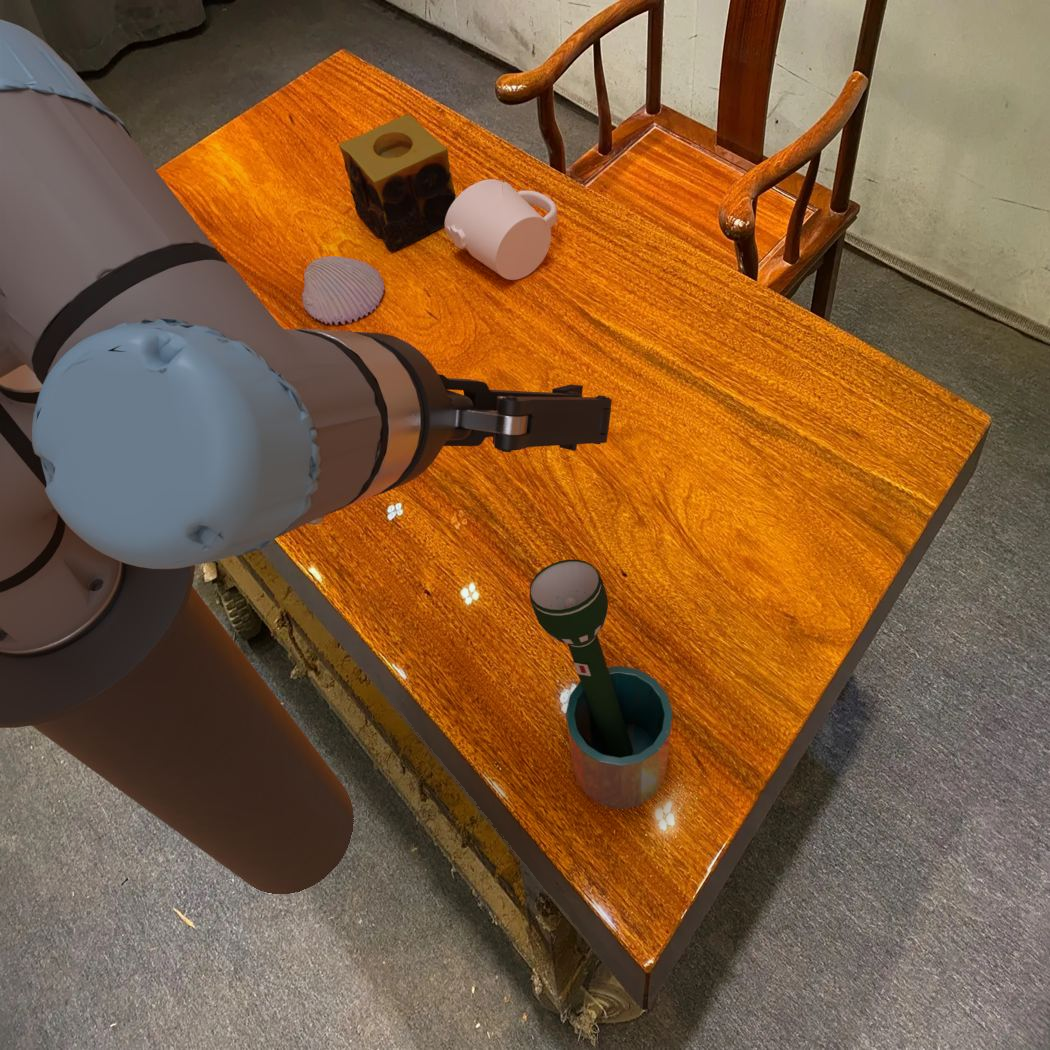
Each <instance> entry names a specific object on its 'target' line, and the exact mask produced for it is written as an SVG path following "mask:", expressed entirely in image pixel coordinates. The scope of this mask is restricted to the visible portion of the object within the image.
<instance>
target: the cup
mask: <svg viewBox="0 0 1050 1050" xmlns="http://www.w3.org/2000/svg"><path fill="white" fill-rule="evenodd" d="M607 668H608V671H609V674H610V677H611V680H612V684H613V687H614V690H615V693H616V696H617V700H618V703H619V706H620V709H621V712H622V716H623V719H624V722H625V725H626V728H627V732H628V735H629V738H630V741H631V744H632V748H633V751H634V755H631V756H626V757H621V758H619V757H614V756H608V755H606V754H605V751H604V748H603V745H602V742H601V740H600V737H599V734H598V731H597V728H596V725H595V722H594V719H593V716H592V713H591V710H590V708H589V705H588V702H587V699H586V696H585V693H584V690H583V687H582V684H581V681H580V680H579V682H578V683H577V685H576V687H575V688H574V689H573V690H572V692H571V693H570V695H569V698H568V702H567V707H566V711H565V718H566V720H565V721H566V726H567V727H566V728H567V734H568V735H567V736H568V742H569V748H570V756H571V763H572V767H573V773H574V777H575V779H576V782H577V783H578V785H579V787H580V789H582V791H583V792H584V793H585V794H586V795H587V796H588V798H590V799H592V800H593V801H594V802H596V803H598V804H599V805H602V806H604V807H608V808H612V809H630V808H631V809H632V808H634V807H638V806H640V805H643V804H644V803H646V802H648V801H650V799H652V798H653V797H654V796H655V795H657V793H658V791H659V790H660V788H661V787H662V785H663V783H664V781H665V779H666V777H667V769H668V761H669V754H670V744H671V737H672V736H671V734H672V728H673V727H672V725H673V715H674V714H673V710H672V705H671V701H670V698H669V695H668V693H667V692H666V691H665V690H664V688H663V687H662V686H661V684H660V683H659V682H658V680H656V678H654V677H652V676H651V675H650V674H648V673H645V672H644V671H643V670H640V669H638V668H634V667H628V666H622V665H614V666H609V667H608V666H607Z"/></svg>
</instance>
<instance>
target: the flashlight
mask: <svg viewBox="0 0 1050 1050" xmlns="http://www.w3.org/2000/svg"><path fill="white" fill-rule="evenodd" d="M529 600H530V604H531V606H532V609H533V611H534V615H535V617H536V618H535V619H536V620H537V622H538V625H539V626H540V627H541V628H542V629H543V630H544V631H545V632H546V633H547V634H548V636H550V637H551V638H553V639H554V640H556V641H557V642H560V643H563V644H567V647H568V649H569V653H570V656H571V658H572V661H573V664H574V668H575V671H576V673H577V676H578V679H579V682H580V681H581V684H582V687H583V690H584V693H585V696H586V699H587V702H588V705H589V708H590V710H591V713H592V716H593V719H594V722H595V725H596V728H597V731H598V734H599V737H600V740H601V742H602V745H603V748H604V751H605V754H606V755H608V756H614V757H619V758H621V757H626V756H631V755H634V751H633V748H632V744H631V741H630V738H629V735H628V732H627V728H626V725H625V722H624V719H623V716H622V712H621V709H620V706H619V703H618V700H617V696H616V693H615V690H614V687H613V684H612V680H611V677H610V674H609V671H608V665H607V664H608V663H607V662H606V658H605V655H604V652H603V648H602V646H601V645H602V644H601V642H600V639H599V636H598V634H599V633H600V631H601V629H602V628H603V627H604V625H605V622H606V619H607V616H608V609H609V608H608V607H609V599H608V594H607V590H606V588H605V584H604V581H603V578H602V576H601V574H600V572H599V571H598V569H597V568H596V567H595V566H594V565H593V564H591V563H589V562H587V561H585V560H581V559H565V560H558V561H556V562H553V563H551V564H549V565H547V566H546V567H544V568H542V569H541V570H540V571H539V572H537V574H536V575H535V576H534V577H533V579H532V580H531V583H530V585H529Z"/></svg>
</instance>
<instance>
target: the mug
mask: <svg viewBox="0 0 1050 1050" xmlns="http://www.w3.org/2000/svg"><path fill="white" fill-rule="evenodd" d="M455 198H456V199H455V200H454V202H453V203H452V204H451V206H450V208H449V210H448V212H447V214H446V218H445V226H444V231H445V234H446V235H447V237H448V238H449V239H450V240H451V241H452V242H453V244H454V245H455V246H456V247H457V248H459V249H465V250H467V252H468V253H469V254H470V256H472V258H474V259H475V260H477V261H478V262H480V263H482V264H483V265H484V266H486V267H487V268H489V269H490V270H492V271H493V272H495V273H496V274H498V275H499V276H500V277H502V278H504V279H506V280H509V281H516V280H520V279H523V278H525V277H527V276H529V275H530V274H532V273H533V272H534V271H535V270H537V268H538V267H539V266H540V265H541V264H542V262H543V261H544V260H545V258H546V257H547V254H548V252H549V250H550V247H551V241H552V229H551V228H553V227H554V226H555V224H556V223H557V221H558V209H557V205H556V203H555V202H554V201H553V199H551V198H550V197H548V195H545V194H543V193H541V192H538V191H535V190H529V189H527V190H525V189H524V190H519V191H517V190H516V189H515V188H514V187H513V186H512V185H511V184H510V183H509V182H508V181H502V180H499V179H497V178H496V179H495V178H489V179H483V180H479V181H477V182H475V183H473V184H471V185H469V186H468V187H466V188H465V189H464V190H463V191H461V193H459V194H458V196H456V197H455ZM533 206H534V207H538V208H540V209H542V210H543V211H546V212H547V214H545V215H544V216H542V215H540V213H538V211H537V210H535V208H533Z"/></svg>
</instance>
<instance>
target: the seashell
mask: <svg viewBox="0 0 1050 1050" xmlns="http://www.w3.org/2000/svg"><path fill="white" fill-rule="evenodd" d="M303 285H304V287H303V291H302V294H301V297H302V298H301V300H302V305H303V308H304V309H305V312H307V313H308V315H310V317H311V318H313V319H314V320H317V321H318V322H321V323H322V324H323V323H324V324H325V325H327V324H329V325H330V326H333V323H334V325H336V326H339V322H340V324H342V325H343V326H345V325H346V322H347V323H348V324H352V321H353V320H354V322H355V323H356V322H358V319H359V318H360V319H363V318H364V316H365V317H368V315H369V313H370V314H372V313H373V311H374V310H377V307H379V306H380V302H381V300H382V298H383V295H384V291H386V289H385V283H384V280H383V278H382V276H381V274H380V273H379V271H378V269H376V267H375V266H373V265H372V264H371V265H370V264H368V262H364V261H363V260H358V259H355V258H349V257H343V256H322V257H319V258H316V259H314V260H313V261H311V262H310V263H309V264H307V266H306V267H305V270H304V273H303Z"/></svg>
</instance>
